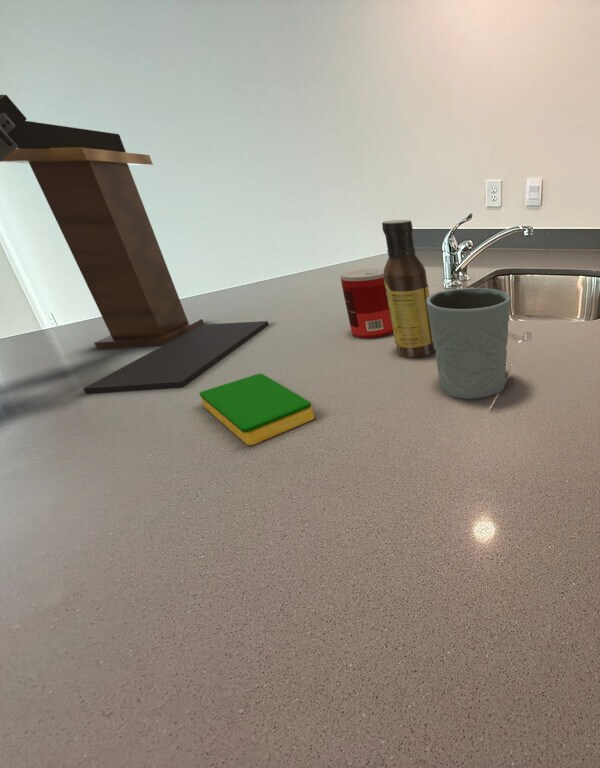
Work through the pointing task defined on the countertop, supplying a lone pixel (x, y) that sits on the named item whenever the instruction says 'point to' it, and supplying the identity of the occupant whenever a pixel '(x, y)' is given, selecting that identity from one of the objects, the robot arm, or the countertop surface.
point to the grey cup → (470, 340)
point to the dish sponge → (257, 408)
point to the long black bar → (63, 137)
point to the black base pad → (179, 359)
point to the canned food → (367, 303)
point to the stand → (111, 241)
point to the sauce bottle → (406, 291)
